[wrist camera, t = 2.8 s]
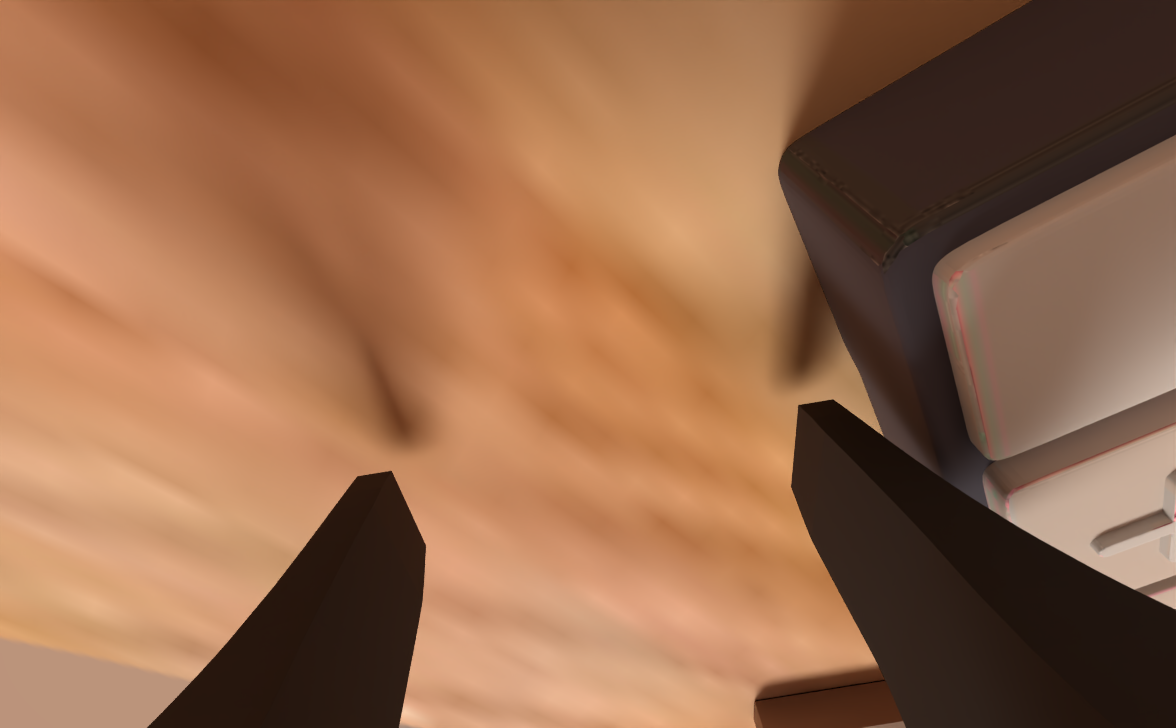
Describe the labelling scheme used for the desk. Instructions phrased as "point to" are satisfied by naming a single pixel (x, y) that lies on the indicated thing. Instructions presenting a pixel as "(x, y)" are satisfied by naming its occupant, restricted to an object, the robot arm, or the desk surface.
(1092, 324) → the calculator
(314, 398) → the desk surface
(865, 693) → the track
